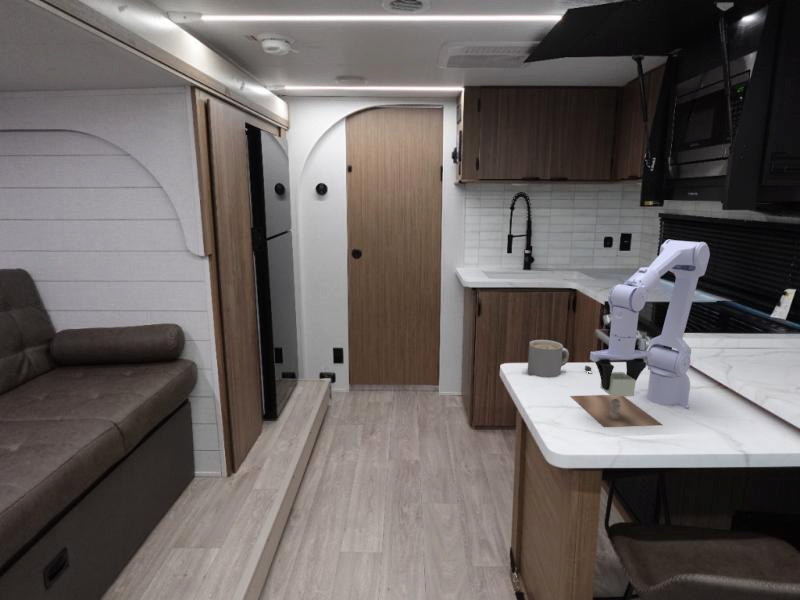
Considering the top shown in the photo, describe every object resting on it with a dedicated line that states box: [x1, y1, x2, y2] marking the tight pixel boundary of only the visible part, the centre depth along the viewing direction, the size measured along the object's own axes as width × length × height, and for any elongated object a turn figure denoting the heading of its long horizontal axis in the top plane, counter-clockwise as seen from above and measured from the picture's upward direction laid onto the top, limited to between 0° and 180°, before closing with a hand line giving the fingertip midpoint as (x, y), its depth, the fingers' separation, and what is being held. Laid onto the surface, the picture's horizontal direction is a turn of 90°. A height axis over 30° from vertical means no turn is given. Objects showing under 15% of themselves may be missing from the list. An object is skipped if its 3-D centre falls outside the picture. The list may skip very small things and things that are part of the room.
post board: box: [569, 394, 663, 428], centre depth 129 cm, size 15×19×6 cm
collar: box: [600, 371, 637, 397], centre depth 122 cm, size 6×6×4 cm
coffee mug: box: [526, 339, 570, 379], centre depth 156 cm, size 13×10×10 cm
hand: (617, 388), depth 122 cm, fingers closed on collar, 6 cm apart
